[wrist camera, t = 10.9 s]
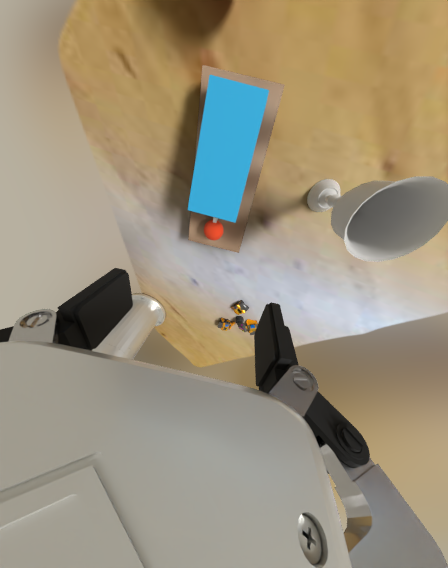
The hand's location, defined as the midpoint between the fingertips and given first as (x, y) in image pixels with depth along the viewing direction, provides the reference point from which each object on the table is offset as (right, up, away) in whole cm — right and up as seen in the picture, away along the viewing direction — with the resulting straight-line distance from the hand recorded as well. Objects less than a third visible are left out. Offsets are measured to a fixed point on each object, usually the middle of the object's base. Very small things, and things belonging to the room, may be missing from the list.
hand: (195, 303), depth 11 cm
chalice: (+19, +16, +18) cm, 31 cm away
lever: (+2, +18, +15) cm, 23 cm away
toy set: (+5, -8, +37) cm, 39 cm away
